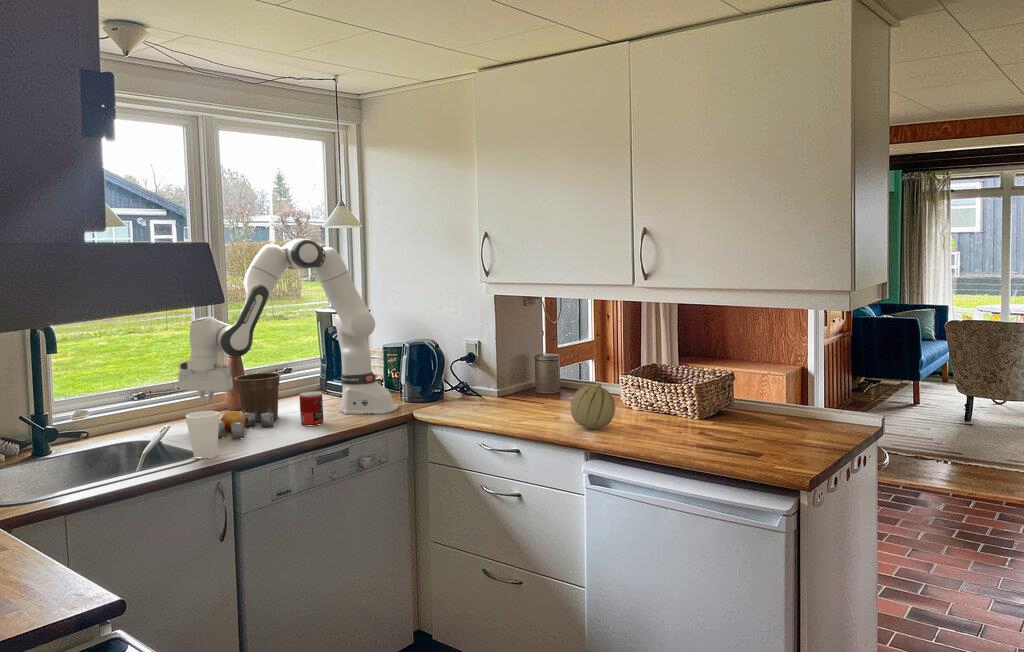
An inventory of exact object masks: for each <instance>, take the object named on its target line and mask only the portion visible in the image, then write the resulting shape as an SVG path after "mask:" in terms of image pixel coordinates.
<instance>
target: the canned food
mask: <svg viewBox="0 0 1024 652" xmlns="http://www.w3.org/2000/svg"><path fill="white" fill-rule="evenodd" d="M323 404H324V403H323V392H322V391H304V392H301V393H299V411H300V423H301V425H302V426H303V425H317V426H319V425H318V424H321V425H323V424H324V405H323ZM322 423H323V424H322Z"/></svg>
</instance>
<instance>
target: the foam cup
mask: <svg viewBox="0 0 1024 652" xmlns="http://www.w3.org/2000/svg"><path fill="white" fill-rule="evenodd" d="M219 421H221V416H220V412H219V411H215V410H203V411H196V412H195V411H194V412H191V413H188V414H186V415H185V423H186V426H187V430H188V435H189V440H190V444H191V448H192V453H193V456H194V457H202V458H209V457H213V456H215V457H217V456H216V455H218V454H217V453H218V446H219V445H218V444H219V438H218V431H219ZM213 458H214V457H213ZM209 459H210V458H209Z"/></svg>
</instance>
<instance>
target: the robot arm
mask: <svg viewBox="0 0 1024 652" xmlns="http://www.w3.org/2000/svg"><path fill="white" fill-rule="evenodd" d="M286 269H291V270H305V269H312V270H313V271H314V272H315V273H316V275H317V277H318V280H319V282H320V285H321V287H322V289H323V291H324V293H325V296H326V299H327V300H328V302H329V303H330V305H331V306H332V308H333V309H334V311H335V313H336V315H335V317H334V325H335V327H336V332H337V339H338V344H339V349H340V354H341V355H340V356H341V357H340V358H341V374H340V376H341V379H340V380H341V387H342V393H341V401H340V407H339V412H342V413H344V415H371V414H370V413H373V414H372V415H384V414H388V413H391V412H394V411H396V410H398V409H399V408H400V406H399V404H397V403H394V402H393V397H392V396H393V395H392V394H391V392H390V391H389V390H388V389H387V388H385V387H384V386H382V385H381V384H380V383H378V382H377V380H376V379H377V378H379V376H378V375H379V374H378V373H376V374H375V373H374V372H373V371H372V355H371V349H370V347H369V343H368V338H367V337H369V336H371V334H373V332H374V331H375V328H376V320H375V317H374V316H373V315H372V314H371V312H370V310H369V308H368V306H367V305H366V302H364V300H363V298H362V297H361V295H360V293H359V292H358V291H357V288H356V287H355V284H354V282H353V279H352V277H351V275H350V271H349V270H348V268H347V266H346V264H345V262H344V260H343V259H342V257H341V255H340V254H339V252H338V251H337V250H336V249H335V248H334V247H331V246H328V247H327V246H326V247H325V246H324V247H322V246H321V245H319V244H318V243H317V242H316V241H314V240H312V239H309V238H296V239H293V240H290V241H288V242H286V243H285V244H283V245H281V246H279V245H277V244H274V243H267V244H265V245H264V246H263V247H262V248H261V249H260V250H259V252H258V253H257V254H256V255H255V257H254V259H253V260H252V261H251V263H250V265H249V267H248V269H247V271H246V273H245V275H244V279H243V282H242V284H243V285H242V286H243V288H244V292H245V302H244V304H243V307H242V309H241V311H240V313H239V315H238V316H237V319H236V321H235V323H234V324H228V323H225V322H223V321H220V320H218V319H216V318H215V317H213V316H203V317H198V318H196V319H193V320H192V321H191V322H190V325H189V326H190V327H189V333H188V334H189V346H190V348H191V349H190V359H187V360H186V361H183V362H180V363H178V364H177V365H178V369H179V371H178V373H177V374H178V377H177V380H178V382H177V383H178V387H179V389H180V390H181V391H194V392H195V391H196V392H197V394H198V396H199V398H200V401H201V402H200V403H201V404H204V405H205V404H206V405H210V404H212V402H213V401H212V400H213V397H214V394H215V392H217V393H220V392H221V393H226V392H230V391H232V390H233V389H234V386H233V385H234V384H233V377H232V372H231V368H230V367H229V366H228V365H227V364H219V354H218V353H219V352H224V353H225V354H227V355H228V356H230V357H235V358H236V357H242V356H244V355H246V354H248V352H249V351H250V350H251V348H252V345H253V341H254V340H253V339H254V338H253V337H254V331H255V329H256V325H257V323H258V321H259V319H260V317H261V315H262V313H263V311H264V308H265V306H266V303H267V301H268V300H269V298H270V297H271V295H272V293H273V292H274V290H275V288H276V286H277V285H278V283H279V281H280V280H281V277H282V275H283V273H284V272H285V271H286ZM206 395H207V396H206ZM364 413H365V414H364ZM367 413H368V414H367Z"/></svg>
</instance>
